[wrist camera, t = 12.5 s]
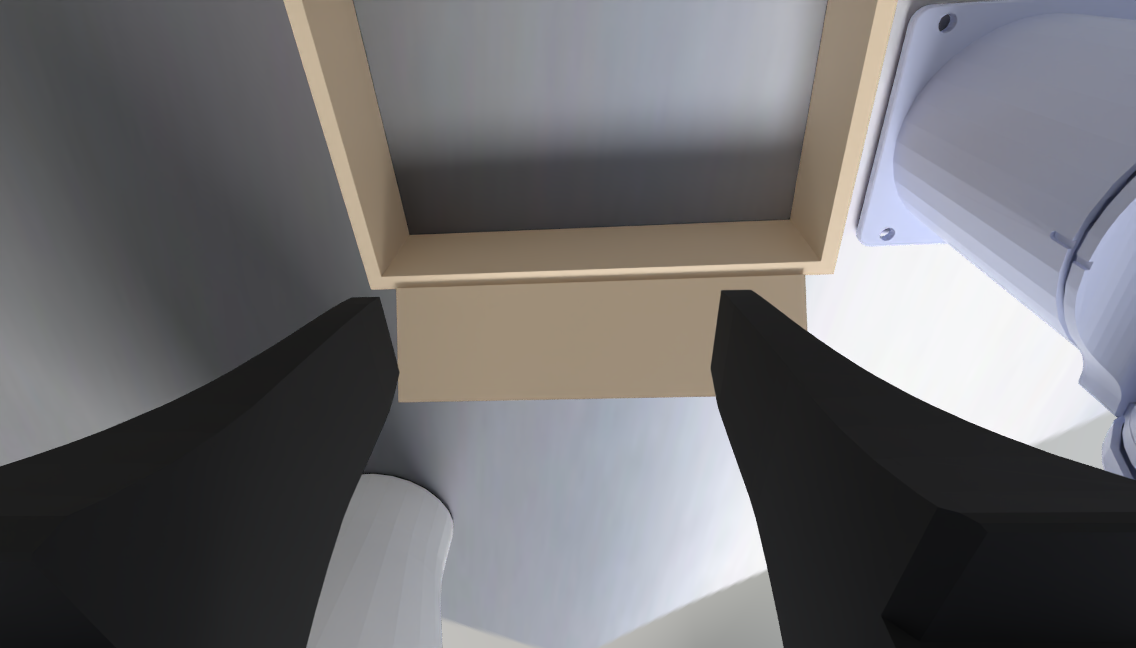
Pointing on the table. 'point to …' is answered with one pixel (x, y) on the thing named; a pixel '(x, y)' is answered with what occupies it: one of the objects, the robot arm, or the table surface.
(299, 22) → the carton
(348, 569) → the vase
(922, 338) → the table surface
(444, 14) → the table surface
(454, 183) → the table surface
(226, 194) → the table surface
